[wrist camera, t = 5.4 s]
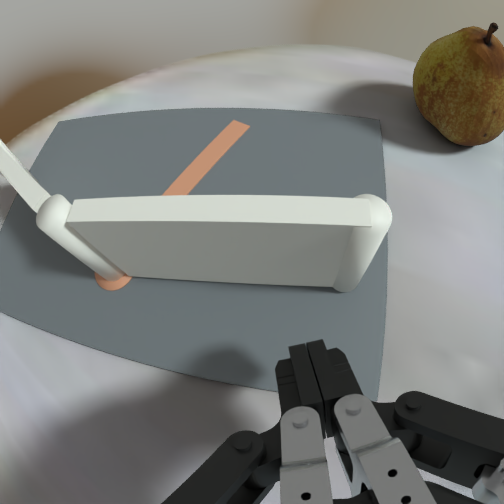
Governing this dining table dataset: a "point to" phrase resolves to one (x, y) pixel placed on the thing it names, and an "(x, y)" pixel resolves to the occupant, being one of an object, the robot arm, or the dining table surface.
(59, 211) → the fence fixed
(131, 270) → the fence gate
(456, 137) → the fruit
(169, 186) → the card
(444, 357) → the dining table surface
